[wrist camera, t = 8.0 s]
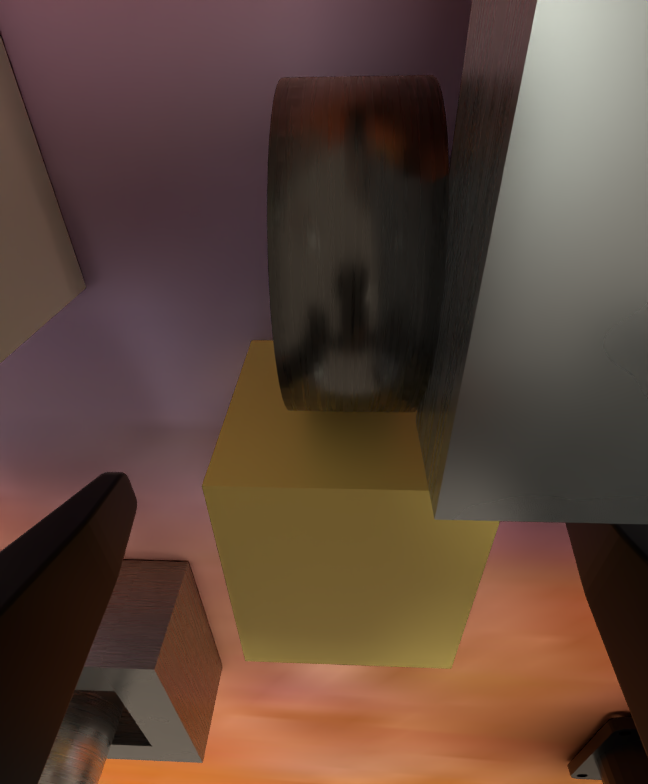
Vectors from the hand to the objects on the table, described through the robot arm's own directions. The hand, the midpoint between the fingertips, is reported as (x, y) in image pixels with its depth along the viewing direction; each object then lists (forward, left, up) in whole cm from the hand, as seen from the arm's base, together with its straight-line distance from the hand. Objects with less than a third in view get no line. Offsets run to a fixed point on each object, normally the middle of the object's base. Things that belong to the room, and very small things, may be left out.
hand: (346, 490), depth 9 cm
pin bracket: (-9, +8, -2) cm, 12 cm away
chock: (0, 0, -2) cm, 2 cm away
